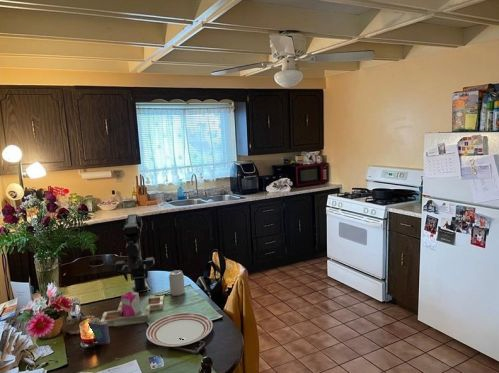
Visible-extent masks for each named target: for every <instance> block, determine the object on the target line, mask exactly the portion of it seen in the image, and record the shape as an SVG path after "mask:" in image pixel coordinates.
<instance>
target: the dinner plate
mask: <svg viewBox="0 0 499 373" xmlns="http://www.w3.org/2000/svg"><path fill="white" fill-rule="evenodd" d="M213 327H214V326H213V321H212V320H211V318H209V316H207V315H204V314H202V313H197V312H178V313H172V314H169V315H165V316H163V317H160V318H158V319H156V320H154V322H152V323H151V324H150V325H149V326H148V328H147V329H146V333H145V335H146V336H145V337H146V338H147V339H148V341H149V342H150V343H153V344H155V345H156V346H157V345H158V346H162V347H168V348H169V347H170V348H171V347H173V348H174V347H175V348H176V347H183V346H187V345H190V344H193V343H196V342H198V341H201V340H202V339H204V338H206V337H207V336H208V335H209V334H210V333H211V331H212V329H213ZM179 338H186V339H184V340H182V339H181V340H180V339H179Z"/></svg>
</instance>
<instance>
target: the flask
mask: <svg viewBox="0 0 499 373" xmlns="http://www.w3.org/2000/svg"><path fill="white" fill-rule="evenodd" d="M100 321H101V318H100V317H97V318H94V319H92V320H89V321H88V322H87V325H88V324H89V326H90V328H91V329H92V331H93V333H94V335H95V338H96V341H97V342H98V344H97V345H103V346H104V345H109V344H110V343H111V338H110V332H109V331H110V330H109V326H108V322H100ZM89 326H88V327H89Z"/></svg>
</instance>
